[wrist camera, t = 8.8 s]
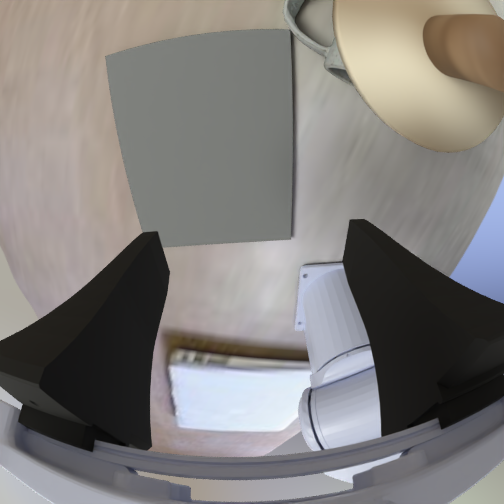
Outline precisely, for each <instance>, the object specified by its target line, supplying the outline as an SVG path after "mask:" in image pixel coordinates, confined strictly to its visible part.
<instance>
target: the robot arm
mask: <svg viewBox="0 0 504 504" xmlns="http://www.w3.org/2000/svg"><path fill="white" fill-rule="evenodd" d="M342 262H343V263H330V264H316V265H304V266H302V267H301V268H300V276H299V288H298V298H297V309H296V318H295V330H296V331H304V333H305V338H306V343H307V349H308V354H309V360H310V366H311V371H312V375H310V381H311V387H309V388H307V389H305V390H304V392H303V394H302V397H301V399H300V402H299V409H298V414H299V422H300V427H301V431H302V434H303V437H304V439H305V441H306V443H307V445H308V446H309V447H310V449H311V450H312V451H313V452H305V453H298V454H288V455H278V456H261V457H203V456H188V455H177V454H168V453H160V452H153V451H147V450H148V449H150V448H151V447H152V441H151V427H150V385H151V370H152V359H153V351H154V345H155V340H156V336H157V332H158V328H159V324H160V320H161V316H162V312H163V308H164V304H165V300H166V296H167V291H168V284H169V275H170V271H169V268H168V264H167V261H166V258H165V254H164V251H163V248H162V244H161V241H160V237H159V234H158V231H152V232H143V233H142V234H140V235H139V236H138V237H137V238H136V239H135V240H133V241H132V242H131V243H130V244H129V245H128V246H127V247H126V248H125V249H124V250H123V251H122V252H121V253H120V254H119V255H118V256H117V257H116V258H115V259H114V260H113V261H111V262H110V263H109V264H108V265H107V266H106V267H105V268H104V269H103V270H102V271H101V272H100V273H99V274H97V275H96V276H95V277H94V278H93V279H92V280H91V281H90V282H89V283H88V284H87V285H85V286H84V287H83V288H82V289H81V290H79V291H78V292H77V293H76V294H74V295H73V296H72V297H71V298H69V299H68V300H67V301H65V302H64V303H63V304H61V305H60V306H58V307H57V308H56V309H54V310H53V311H51V312H50V313H49V314H47V315H46V316H44V317H43V318H41V319H39V320H38V321H36V322H35V323H33V324H31V325H30V326H28V327H26V328H24V329H23V330H21V331H19V332H17V333H15V334H13V335H11V336H9V337H7V338H5V339H3V340H1V341H0V386H1V387H2V388H3V389H4V390H5V391H7V392H8V393H9V394H10V395H12V396H13V397H14V398H16V399H17V400H18V401H19V402H21V403H22V404H23V405H22V409H21V410H20V409H18V408H16V407H14V406H12V405H10V404H8V403H6V402H4V401H2V400H0V466H1V467H2V468H4V469H5V470H6V471H8V472H9V473H10V474H12V475H13V476H14V477H15V478H17V479H18V480H19V481H21V482H22V483H23V484H25V485H26V486H28V487H29V488H30V489H31V490H33V491H34V492H36V493H37V494H39V495H40V496H41V497H43V498H44V499H46V500H48V501H49V502H51V503H52V504H449V503H450V502H452V501H453V500H455V499H456V498H458V497H459V496H461V495H462V494H463V493H465V492H466V491H468V490H469V489H470V488H472V487H473V486H474V485H475V484H477V483H478V482H479V481H480V480H482V479H483V478H484V477H485V476H487V475H488V474H489V473H490V472H491V471H492V470H493V469H495V468H496V467H497V466H498V465H499V464H500V463H501V462H502V461H503V460H504V375H503V374H504V304H503V303H500V302H498V301H495V300H493V299H490V298H488V297H486V296H484V295H481V294H479V293H477V292H475V291H473V290H471V289H469V288H467V287H465V286H463V285H461V284H459V283H457V282H455V281H454V280H452V279H451V278H449V277H447V276H445V275H444V274H442V273H441V272H439V271H437V270H436V269H434V268H433V267H431V266H430V265H428V264H427V263H425V262H424V261H422V260H421V259H419V258H418V257H417V256H415V255H414V254H412V253H411V252H410V251H408V250H407V249H405V248H404V247H403V246H401V245H400V244H399V243H397V242H396V241H395V240H393V239H392V238H391V237H389V236H388V235H387V234H385V233H384V232H383V231H381V230H380V229H379V228H377V227H376V226H374V225H373V224H371V223H370V222H368V221H367V220H365V219H352V220H350V221H349V228H348V233H347V239H346V245H345V250H344V256H343V261H342ZM304 274H307V275H304ZM135 470H138V471H144V472H149V473H155V474H161V475H168V476H176V477H185V478H196V479H213V480H215V479H216V480H260V479H274V478H275V479H276V478H287V477H296V476H305V475H312V474H318V473H324V474H326V475H328V476H330V477H333V478H336V479H339V480H342V481H345V482H349V483H352V484H353V489H349V490H345V491H340V492H335V493H330V494H325V495H319V496H312V497H305V498H297V499H289V500H277V501H260V502H217V501H201V500H192V499H191V497H190V496H191V488H190V487H189V486H185V485H179V484H174V483H170V482H169V481H165V480H159V479H154V478H149V477H144V476H140V475H138V473H137V472H136V471H135Z"/></svg>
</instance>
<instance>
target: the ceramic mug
mask: <svg viewBox="0 0 504 504" xmlns="http://www.w3.org/2000/svg"><path fill="white" fill-rule="evenodd" d="M304 1H305V0H285V2H284V7H283V14H284V19H285V22H286V23H287V25H288V27H289V29H290V30H291V31H292V32H293V34H294V35H295V36H296V37H297V38H298V39H299V40H300V41H301V42H302V43H303V44H305V45H306V46H307V47H309V48H310V49H312V50H314V51H315V52H317V53H319V54H321V55H323V56H325V57H326V60H325V63H324V67H325V69H326V70H327V71H328V72H330V73H331V74H332V75H334V76H336V77H337V78H339V79H341V80H342V81H344V82H347V83H349V84H351V85H353V83H352V81H351V79H350V78H349V76H348V74H347V71H346V69H345V67H344V65H343V63H342V60H341V57H340V54H339V51H338V48H337V44H336V39H335V38H334V40H333V44H332V45H331V46H330V47H325V46H321V45H319V44H317V43H316V42H315V41H313V40H312V39H310V38H309V37H308V36H306V35H305V34H304V33H302V32H301V31H300V30H299V29H298V27H297V25H296V24H295V17H296V15H297V13H298V11H299V9H300V7H301V5H302V3H303V2H304ZM353 86H354V85H353Z"/></svg>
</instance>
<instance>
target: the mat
mask: <svg viewBox="0 0 504 504" xmlns="http://www.w3.org/2000/svg"><path fill="white" fill-rule="evenodd" d="M105 57H106V66H107V74H108V81H109V88H110V95H111V101H112V107H113V113H114V118H115V124H116V129H117V134H118V139H119V144H120V148H121V153H122V157H123V162H124V166H125V170H126V174H127V178H128V182H129V186H130V190H131V194H132V197H133V201H134V205H135V208H136V212H137V215H138V218H139V222H140V225H141V228H142V232H152V231H158V234H159V237H160V241H161V244H162V247H177V246H192V245H207V244H223V243H239V242H256V241H273V240H291V216H292V168H293V108H292V63H291V38H290V30H288V29H256V30H236V31H223V32H213V33H205V34H198V35H191V36H185V37H179V38H174V39H168V40H164V41H159V42H154V43H150V44H146V45H142V46H138V47H134V48H131V49H127V50H124V51H121V52H117V53H114V54H111V55H108V56H105Z"/></svg>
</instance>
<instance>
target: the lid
mask: <svg viewBox="0 0 504 504" xmlns="http://www.w3.org/2000/svg"><path fill="white" fill-rule="evenodd" d="M332 18H333V29H334V35H335V39H336V44H337V48H338V51H339V54H340V57H341V60H342V63H343V65H344V67H345V69H346V71H347V74H348V76H349V78H350V79H351V81H352V83H353V85H354V87H355V88H356V90H357V92H358V93H359V94H360V96H361V97H362V99H363V100H364V101H365V103H366V104H367V105H368V106H369V108H370V109H371V110H372V111H373V112H374V113H375V115H376V116H378V117H379V118H380V119H381V120H382V121H383V122H384V123H385V124H386V125H387V126H389V127H390V128H391V129H393V130H394V131H395V132H397V133H398V134H400V135H402V136H404V137H405V138H407V139H409V140H410V141H412V142H414V143H415V144H417V145H420V146H422V147H424V148H427V149H430V150H434V151H437V152H447V153H450V152H460V151H464V150H468V149H470V148H473V147H475V146H477V145H478V144H480V143H481V142H483V141H484V140H485V139H487V138H488V137H489V136H490V135H491V134H492V133H493V131H494V130H495V129H496V128H497V126H498V125H499V123H500V122H501V120H502V118H503V116H504V20H503V19H502V18H500V17H498V15H497V13H496V11H495V10H494V8H493V6H492V5H491V3H490V2H489V0H333V13H332Z"/></svg>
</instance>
